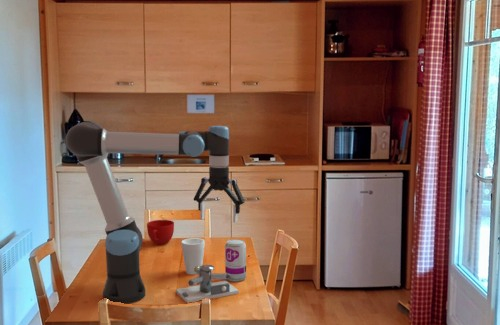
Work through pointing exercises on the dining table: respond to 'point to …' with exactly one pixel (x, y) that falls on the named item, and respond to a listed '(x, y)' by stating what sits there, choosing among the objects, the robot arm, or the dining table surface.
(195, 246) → the foam cup
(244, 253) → the supplement can
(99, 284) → the dining table surface
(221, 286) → the stand
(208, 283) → the capstan
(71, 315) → the dining table surface
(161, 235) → the ceramic cup
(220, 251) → the dining table surface
